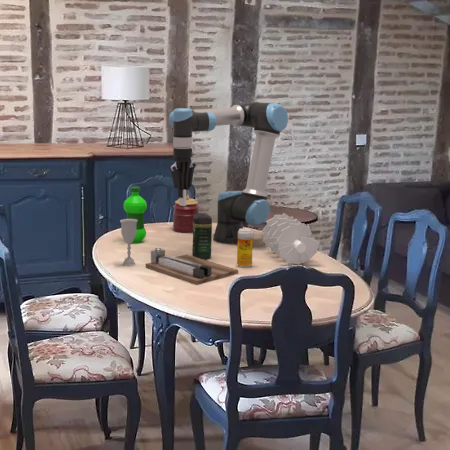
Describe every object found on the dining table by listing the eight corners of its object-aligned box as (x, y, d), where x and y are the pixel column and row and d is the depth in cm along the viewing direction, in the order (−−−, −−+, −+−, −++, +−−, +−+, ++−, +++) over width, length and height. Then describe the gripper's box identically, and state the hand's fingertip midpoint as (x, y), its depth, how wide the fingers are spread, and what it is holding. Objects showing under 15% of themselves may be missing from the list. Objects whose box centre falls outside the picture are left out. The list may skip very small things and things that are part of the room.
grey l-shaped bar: (151, 263, 275) (151, 248, 274) (160, 260, 279) (160, 247, 277) (199, 279, 256) (200, 264, 255) (209, 276, 259) (209, 261, 258)
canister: (199, 233, 333) (199, 197, 329) (172, 233, 333) (172, 197, 329) (199, 227, 346) (200, 192, 342) (173, 227, 345) (173, 192, 342)
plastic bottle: (147, 244, 311) (147, 189, 305) (123, 244, 309) (123, 189, 304) (146, 238, 321) (146, 185, 315) (123, 239, 319) (123, 185, 313)
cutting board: (186, 257, 290) (186, 254, 289) (238, 273, 269) (238, 269, 269) (145, 267, 274) (145, 263, 274) (196, 284, 254) (196, 280, 253)
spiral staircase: (289, 276, 281) (268, 257, 304) (326, 256, 283) (302, 239, 306) (273, 238, 274) (253, 222, 297) (311, 218, 277) (288, 203, 300)
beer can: (241, 268, 276) (242, 232, 273) (234, 264, 281) (235, 228, 278) (254, 266, 279) (255, 230, 276) (247, 262, 284) (248, 227, 281)
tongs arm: (163, 263, 274) (163, 256, 273) (167, 262, 275) (167, 255, 275) (207, 276, 259) (207, 268, 258) (211, 275, 260) (211, 267, 259)
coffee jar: (212, 259, 288) (213, 216, 284) (193, 260, 286) (194, 216, 282) (209, 253, 297) (210, 211, 293) (191, 254, 296) (191, 211, 292)
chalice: (129, 267, 274) (129, 223, 270) (116, 264, 277) (116, 221, 273) (141, 263, 280) (141, 220, 276) (128, 260, 283) (128, 218, 279)
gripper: (187, 145, 283) (187, 201, 288) (164, 148, 273) (164, 206, 279) (200, 147, 278) (200, 204, 283) (177, 149, 268) (177, 208, 274)
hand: (182, 205), depth 281 cm, fingers closed
